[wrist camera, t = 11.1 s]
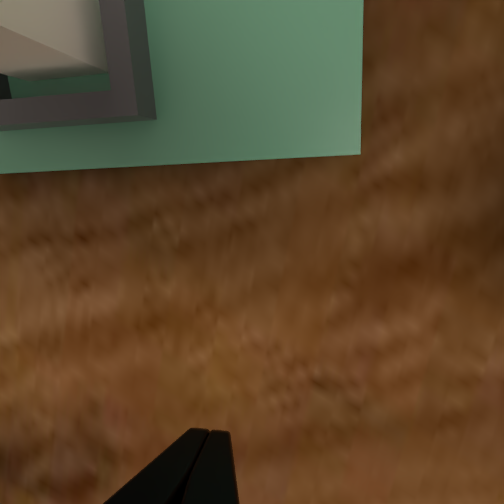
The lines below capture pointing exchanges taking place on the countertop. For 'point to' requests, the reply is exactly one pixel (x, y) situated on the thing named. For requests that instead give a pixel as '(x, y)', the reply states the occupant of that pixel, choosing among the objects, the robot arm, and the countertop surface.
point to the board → (197, 88)
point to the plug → (51, 39)
